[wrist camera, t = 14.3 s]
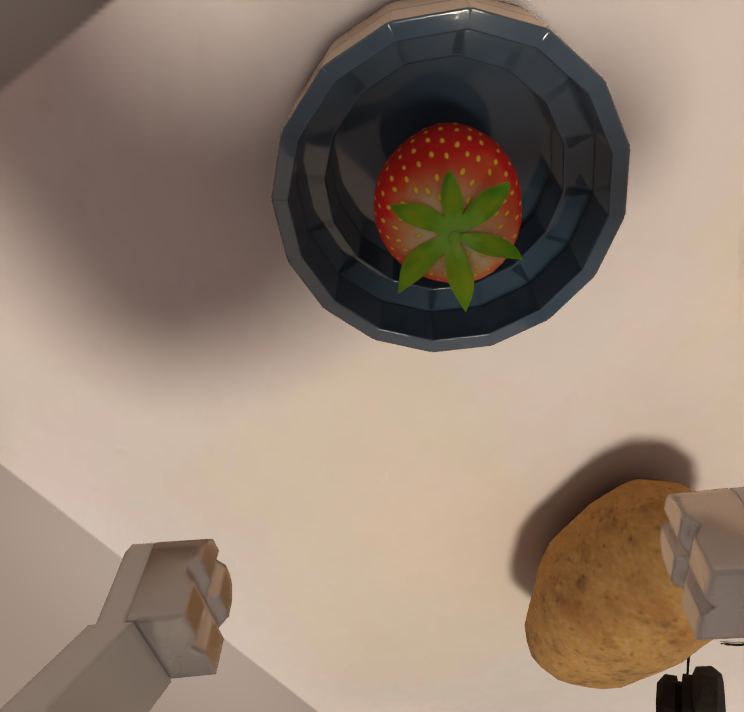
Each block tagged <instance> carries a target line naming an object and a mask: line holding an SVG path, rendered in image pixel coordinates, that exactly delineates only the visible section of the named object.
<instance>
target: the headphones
mask: <svg viewBox="0 0 744 712" xmlns="http://www.w3.org/2000/svg"><path fill="white" fill-rule="evenodd" d="M721 644H724V645H732V646H744V644H730V643H721ZM689 662H690V657H688V658H687V673H686V674H683V676H682V682H680V681H678V679H677V676H674V675H668V674H665V675H664V676H663V677H662V678H661V679H660V680H659V681H658V682H657V693H656V712H726V708H725V693H724V682H723V678H722V674H721V673H720V672H718V671H717V670H716V669H715V668H714V667H712V666H699V667H696V668H695V670H694V672H693V674H692V675H689V674H688V673H689Z"/></svg>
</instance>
